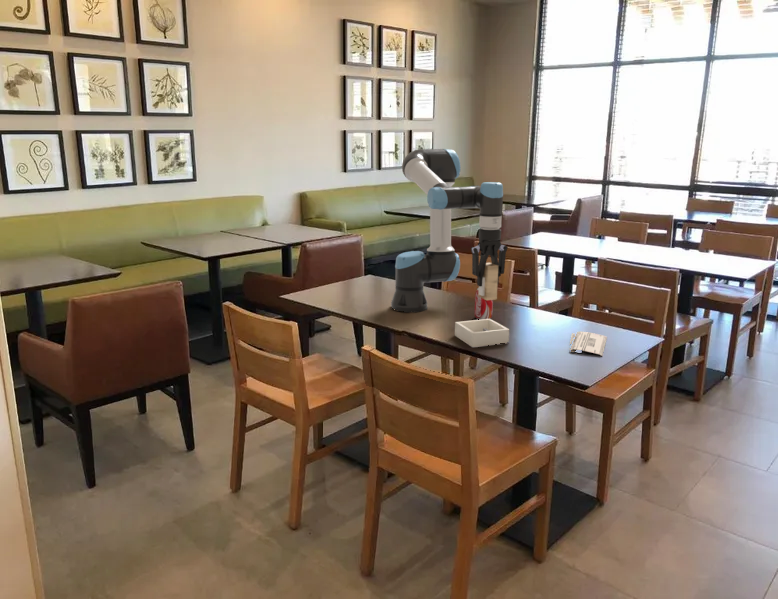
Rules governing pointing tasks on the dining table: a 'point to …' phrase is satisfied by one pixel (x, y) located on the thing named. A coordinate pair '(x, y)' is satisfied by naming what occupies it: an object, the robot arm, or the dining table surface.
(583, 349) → the newspaper
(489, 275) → the light wood block
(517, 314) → the dining table surface
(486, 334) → the white slotted box
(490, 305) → the soda can
